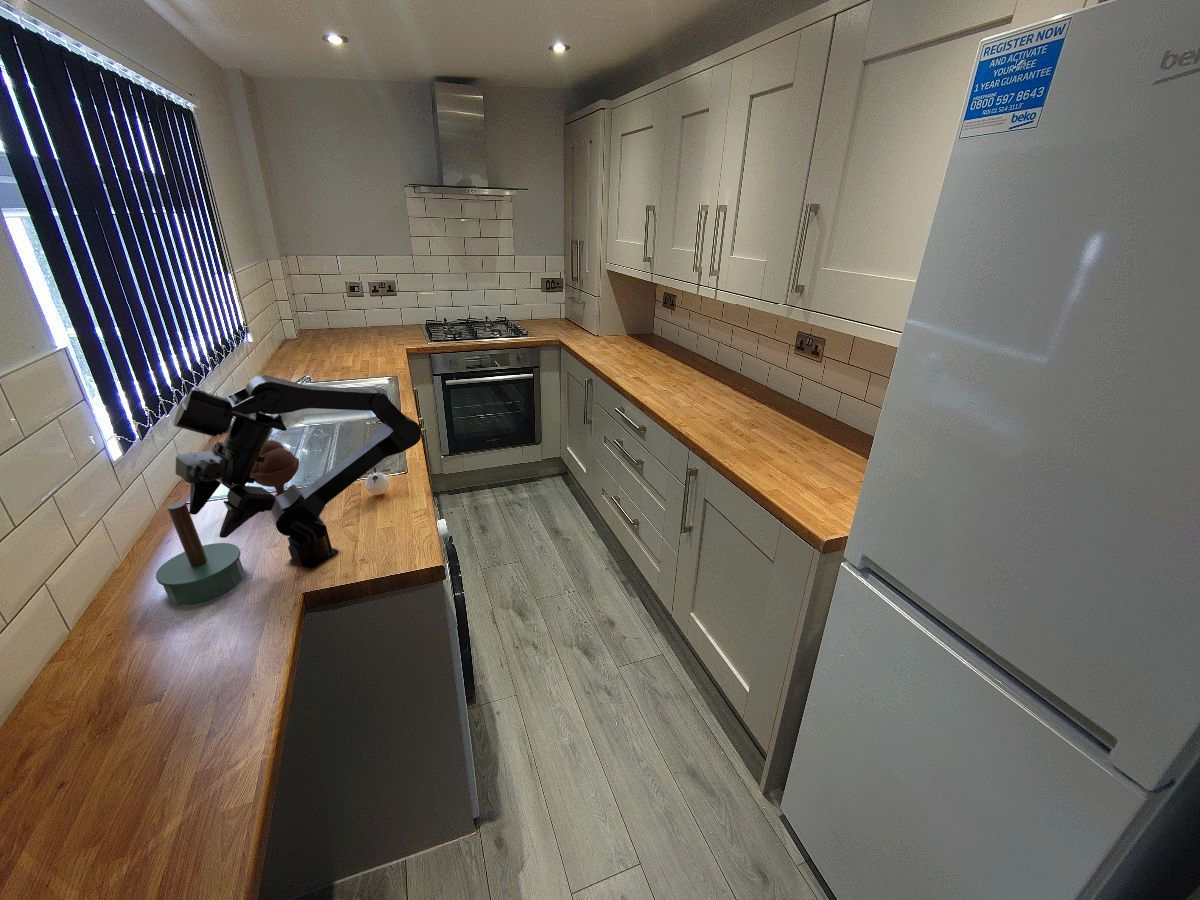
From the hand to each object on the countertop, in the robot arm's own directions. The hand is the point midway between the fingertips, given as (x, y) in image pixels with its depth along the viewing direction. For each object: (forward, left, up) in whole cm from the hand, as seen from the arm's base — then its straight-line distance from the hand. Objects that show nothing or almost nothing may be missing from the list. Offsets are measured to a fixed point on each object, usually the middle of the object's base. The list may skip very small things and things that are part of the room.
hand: (207, 525), depth 92 cm
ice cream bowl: (-28, -21, -14) cm, 38 cm away
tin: (+1, -4, -14) cm, 14 cm away
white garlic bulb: (-38, -1, -11) cm, 40 cm away
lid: (+1, -4, -9) cm, 10 cm away
